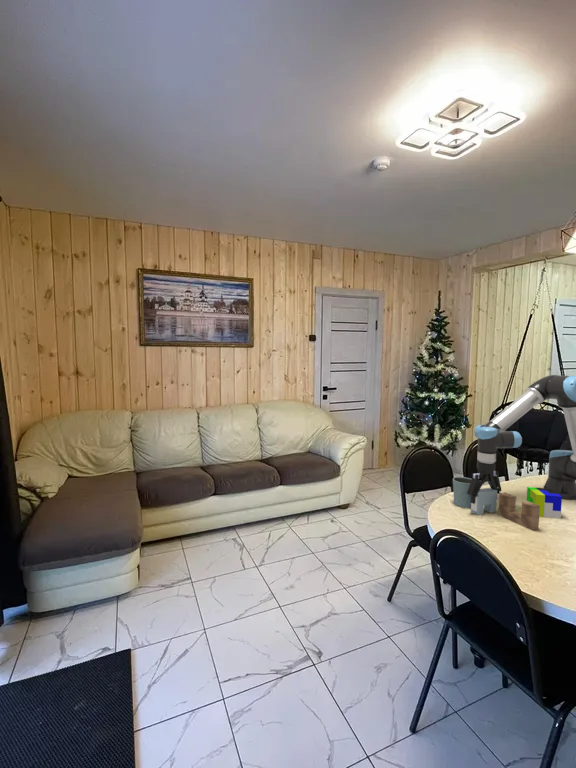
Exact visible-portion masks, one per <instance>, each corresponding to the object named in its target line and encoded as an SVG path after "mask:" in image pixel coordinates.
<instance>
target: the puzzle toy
mask: <svg viewBox="0 0 576 768" xmlns="http://www.w3.org/2000/svg"><path fill="white" fill-rule="evenodd" d="M526 489H527V490H526V501H529V502H531V503H534V504H537V505H539V506H540V512H539V518H550V519H561V515H562V505H563V504H562V502H563V501H562V500H563V499H562V496H561V495H559V494H558V493H556V492H555V491H554V490H552V489H548V488H543V487H533V486H532V487H531V486H527V487H526Z"/></svg>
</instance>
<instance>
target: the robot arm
mask: <svg viewBox="0 0 576 768" xmlns="http://www.w3.org/2000/svg"><path fill="white" fill-rule="evenodd" d="M551 399H552V400H556V402H557V403H556V404H557V406H558V407H559V408H561V409H562V411H563V415H564V420H565V424H566V427H567V428H566V429H567V432H568V437H569V441H570V446H571V450H570V449H569V450H567V449H555V450H554V449H553V450H551V451H550V453H549V457H548V474H547V479H546V481H545V483H544V485H543V487H542V488H548V489H552V490H554V491H555V492H556V493H558V494H559V495H561V496H562V500H576V375H558V374H550V375H547V376H544V377H542V378H540V379H537V380H536V381H535V382H533V383H531V384H530V385H529V386H528V387H526V388H525V391H524V393H522V394H521V395H520V396H519V397H518V398H516V399H515V400H514V401H513V402H512V403H510V404H509V405H508V406H507V407H505V408H504V409H503V410H502V411H501V412H500V413H498V414H497V415H496V416H494V417H493V418H492V419H491V420H489V421H488V422H487V423H485V424H479V425H476V427H475V429H474V432H473V434H474V436H475V437H476V438H477V455H476V456H477V458H476V459H477V460H476V469H477V473H474V472H473V473H471V482H470V486H469V489H468V492H467V494H468V495H471V508H470V510H471V509H472V510H474V511H477V502H478V497H477V494H478V492H479V490H480V489H482V486H483V485H484V484H485V483H488V485H489V488H492V489H494V490H497V495H499V493H502V486H501V482H500V477H499V474H500V472H499V471H496V462H497V449H513V448H515V449H516V448H519V447H520V446H521V445H522V443H523V437H522V436H521V434H520V432H518V431H514V430H513V431H512V430H509V431H508V428H510V427H511V426H512V425H513V424H514V423H516V422H517V421H518V420H519V419H521V418H522V417H523V416H524V415H525V414H527V413H528V412H529V411H530V410H532V409H533V408H534V407H535V406H536V405H537V404H542V403H543V402H545V401H546V400H551ZM474 493H475V494H474Z"/></svg>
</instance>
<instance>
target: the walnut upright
mask: <svg viewBox="0 0 576 768" xmlns="http://www.w3.org/2000/svg"><path fill="white" fill-rule="evenodd" d="M498 495H499V496H498V513H497V514H498V516H500V517H502V518H504V519H506V520H508V521H511V522H512V523H515V524H516V525H519V526H521V527H524V528H525V529H528V530H530V531H537V530H539V524H540V517H539V512H540V506H539V505H537V504H534V503H531V502H529V501H527V500H526V501H522V502H521V508H520V509H521V511H520V512H519V511H516V501H517V500H516V499H517V496H516V495H512V494H510V493H508V492H500V493H499V494H498Z"/></svg>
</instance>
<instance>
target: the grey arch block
mask: <svg viewBox="0 0 576 768" xmlns="http://www.w3.org/2000/svg"><path fill="white" fill-rule="evenodd" d="M474 494H475V493H474ZM477 497H478V502H477V511H474V510H472V509H471V508H470V512H471V513H473V514H475V515H477V516H479V515H484V511H487V512H489V513H495V512H496V513H497V504H498V503H497V501H498V494H497V490H494V489H492V488H491V487H486V488H480V490H479V492H478V494H477Z"/></svg>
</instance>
